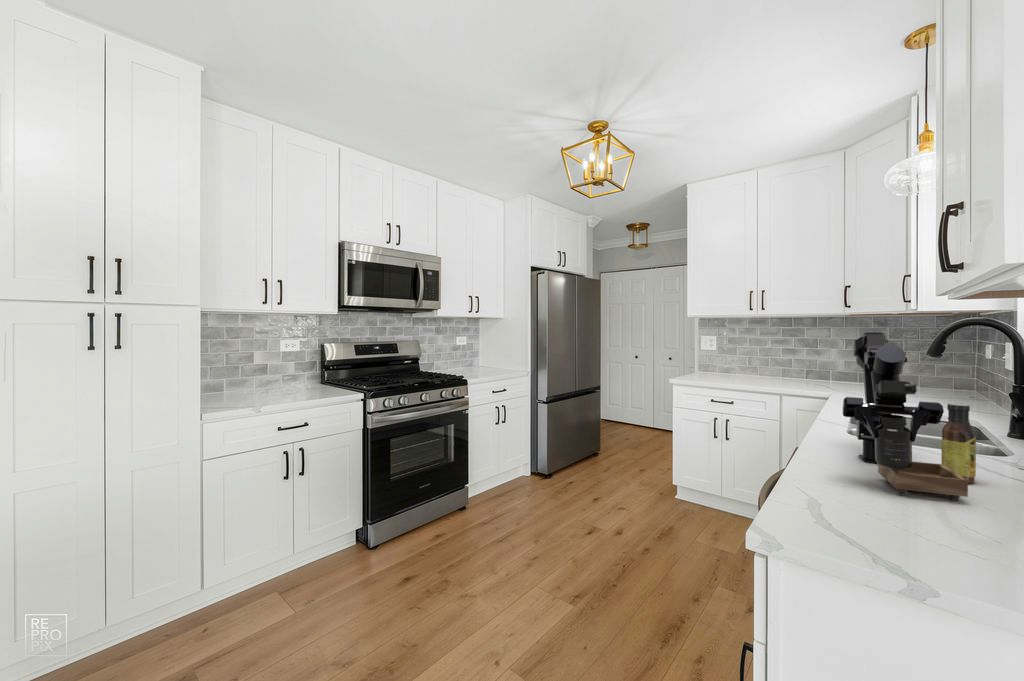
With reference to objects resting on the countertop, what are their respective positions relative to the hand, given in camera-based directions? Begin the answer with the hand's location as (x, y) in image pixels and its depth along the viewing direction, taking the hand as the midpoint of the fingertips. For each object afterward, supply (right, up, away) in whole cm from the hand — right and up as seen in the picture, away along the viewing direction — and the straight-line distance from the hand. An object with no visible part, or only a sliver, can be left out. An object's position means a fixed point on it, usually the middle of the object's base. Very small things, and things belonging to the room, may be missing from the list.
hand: (893, 439), depth 105 cm
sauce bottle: (+24, -13, +8) cm, 28 cm away
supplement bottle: (+1, -7, +1) cm, 7 cm away
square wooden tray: (+8, -13, +2) cm, 15 cm away
